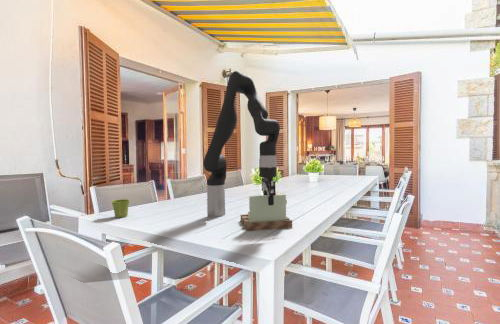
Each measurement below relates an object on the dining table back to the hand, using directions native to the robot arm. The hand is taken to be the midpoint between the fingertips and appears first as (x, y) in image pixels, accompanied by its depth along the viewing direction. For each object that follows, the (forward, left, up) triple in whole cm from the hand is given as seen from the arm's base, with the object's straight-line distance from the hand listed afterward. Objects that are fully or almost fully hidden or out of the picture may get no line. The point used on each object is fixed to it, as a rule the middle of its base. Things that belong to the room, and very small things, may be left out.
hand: (268, 203), depth 129 cm
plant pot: (-70, +46, -12) cm, 85 cm away
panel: (0, 0, -11) cm, 11 cm away
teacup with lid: (+15, +39, -12) cm, 44 cm away
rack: (0, +6, -12) cm, 13 cm away
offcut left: (-5, +6, -11) cm, 13 cm away
